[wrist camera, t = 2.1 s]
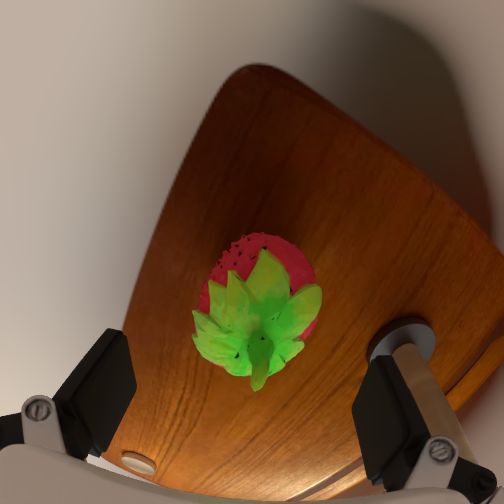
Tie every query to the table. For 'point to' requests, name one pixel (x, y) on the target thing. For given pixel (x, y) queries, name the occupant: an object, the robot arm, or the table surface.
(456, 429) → the post
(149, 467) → the puck
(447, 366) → the table surface
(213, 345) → the strawberry
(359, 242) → the table surface
